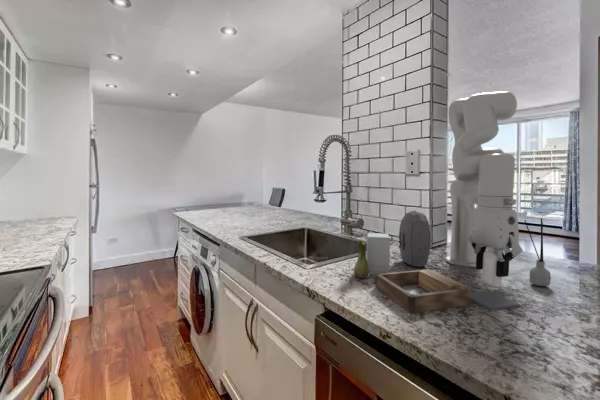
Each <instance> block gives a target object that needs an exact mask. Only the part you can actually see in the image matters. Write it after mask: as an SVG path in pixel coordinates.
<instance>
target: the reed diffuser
mask: <svg viewBox="0 0 600 400" xmlns="http://www.w3.org/2000/svg"><path fill="white" fill-rule="evenodd" d="M523 221H524V223H525V226H526V229H527V232H528V234H529V237H530V239H531V242H532V245H533V247H534V250H535V253H536V256H537V259H536V266H534V267H532V268H530V270H529V283H530V284H532V285H535V286H538V287H539V286H541V287H548V286H550V285H551V278H552V277H551V272H550V271H549V270H548V269H547V268H546V267H545V266H546V265H545V261H544V240H543V239H544V237H543V236H544V234H543V233H544V232H543V230H544V229H543V227H544V222H543V218H540V251H539V252H540V253H538V251H537V247H536V246H535V243H534V240H533V237H532V235H531V232H530V229H529V226H528V223H527V221H526V219H524V220H523ZM539 254H540V255H539Z"/></svg>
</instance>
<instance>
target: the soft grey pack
mask: <svg viewBox="0 0 600 400" xmlns="http://www.w3.org/2000/svg"><path fill="white" fill-rule="evenodd" d="M398 240H399V241H398V243H399V245H398V246H399V247H398V248H399V251H400V259H401V260H402V261H403V263H406V264H407V265H409V266H413V267H425V266H427V265H428V262H429V257H430V250H431V249H430V247H431V233H430V223H429V220H428V217H427V216H426V214H425V213H423V212H420V211H417V210H412V211H408V212H406V213H405V215H404V216H403V217H402V219H401V221H400V224H399V231H398Z"/></svg>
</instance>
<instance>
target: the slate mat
mask: <svg viewBox="0 0 600 400" xmlns="http://www.w3.org/2000/svg"><path fill="white" fill-rule="evenodd" d="M470 302H473V303H475V304H477V305H479V306H481V307H483V308H485V309H487V310H489V311H498V310H503V309H505V310H506V309H510V308H511V309H512V308H517V307H521V303H520V302H517V301H514V300H511V299H510V298H507V297H505V296H504V295H503V296H502V295H501V294H499V293H495V292H493V291H491V290H485V291H477V292H476V291H475V292H471V293H470Z"/></svg>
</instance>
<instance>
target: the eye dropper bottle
mask: <svg viewBox="0 0 600 400" xmlns="http://www.w3.org/2000/svg"><path fill="white" fill-rule="evenodd" d="M497 261H500V260H499V257H498V253H497V249H495V248H491V247H487V251H485V252H484V254H483V269H481V270H482V273H481V274H482V275H481V279H482V280H481V281H482V282H483V283H484V284H486V285H488V286H491V287H499V288H500V287H502V280H503V279H502V278H503V277H497V276H496V265H497Z"/></svg>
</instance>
